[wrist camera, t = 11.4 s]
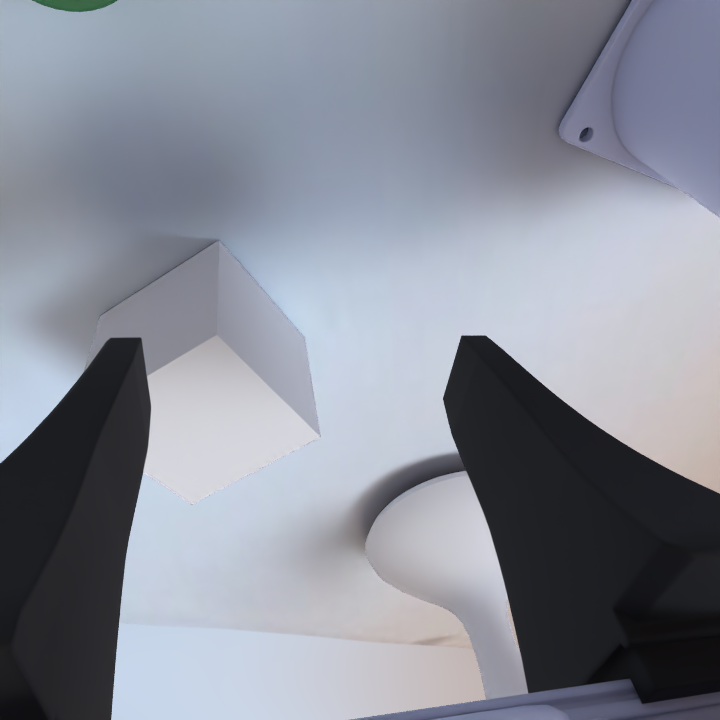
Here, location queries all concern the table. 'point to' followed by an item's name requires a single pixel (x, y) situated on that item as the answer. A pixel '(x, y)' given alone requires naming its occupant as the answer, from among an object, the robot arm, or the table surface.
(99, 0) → the bottle
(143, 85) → the table surface
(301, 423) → the white cube
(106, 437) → the robot arm
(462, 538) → the flower in vase
